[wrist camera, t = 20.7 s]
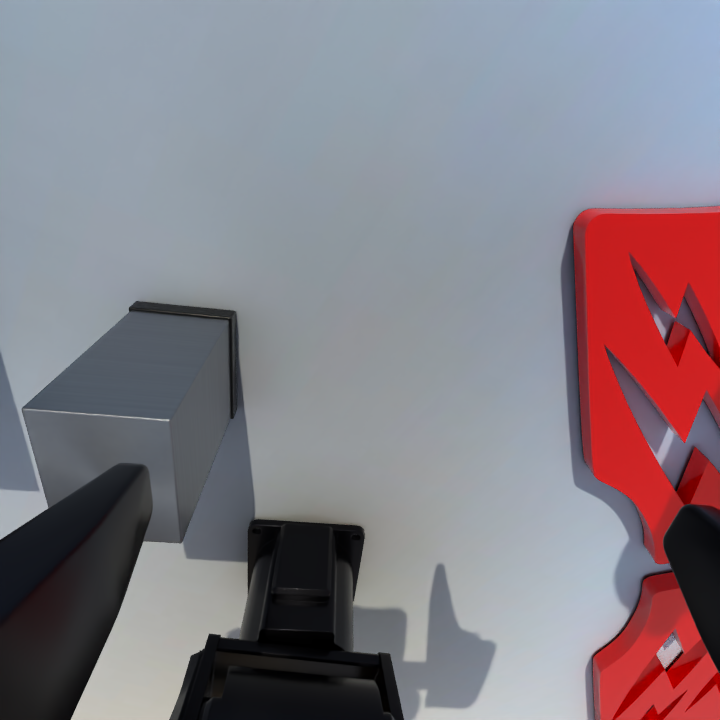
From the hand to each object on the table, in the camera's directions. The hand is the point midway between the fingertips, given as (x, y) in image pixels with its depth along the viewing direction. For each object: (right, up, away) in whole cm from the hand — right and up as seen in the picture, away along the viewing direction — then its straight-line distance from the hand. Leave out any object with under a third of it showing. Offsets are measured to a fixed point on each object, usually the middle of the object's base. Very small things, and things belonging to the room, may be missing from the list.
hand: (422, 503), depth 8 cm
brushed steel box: (-9, +2, +13) cm, 16 cm away
